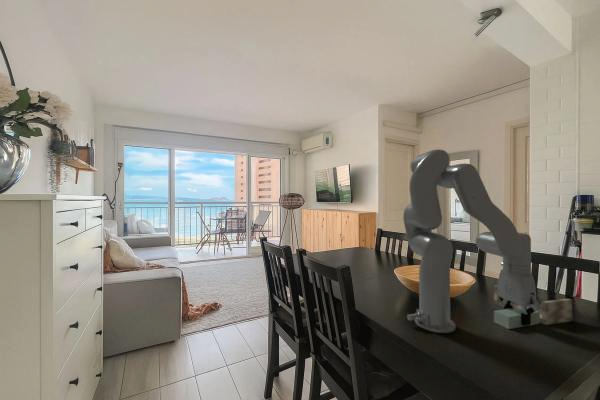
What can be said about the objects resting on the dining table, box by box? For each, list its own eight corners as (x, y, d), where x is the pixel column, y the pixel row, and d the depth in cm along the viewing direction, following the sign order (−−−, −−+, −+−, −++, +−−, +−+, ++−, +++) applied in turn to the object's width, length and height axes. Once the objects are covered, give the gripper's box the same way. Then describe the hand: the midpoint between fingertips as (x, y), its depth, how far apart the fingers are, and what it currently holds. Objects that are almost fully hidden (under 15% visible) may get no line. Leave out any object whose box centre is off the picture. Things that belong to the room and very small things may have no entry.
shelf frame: (545, 324, 90) (545, 302, 90) (494, 303, 108) (494, 285, 108) (572, 320, 92) (572, 299, 92) (517, 300, 111) (517, 282, 111)
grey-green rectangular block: (508, 329, 87) (508, 317, 87) (494, 322, 92) (494, 310, 92) (539, 323, 91) (539, 311, 91) (523, 317, 96) (523, 306, 95)
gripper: (485, 263, 99) (485, 311, 99) (534, 276, 82) (535, 334, 82) (501, 262, 100) (502, 309, 100) (553, 274, 84) (553, 331, 84)
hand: (516, 320), depth 91 cm, fingers closed on grey-green rectangular block, 5 cm apart
